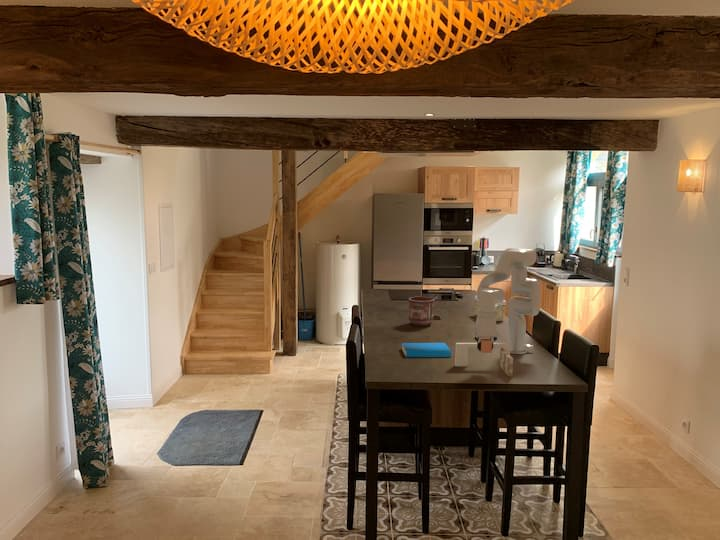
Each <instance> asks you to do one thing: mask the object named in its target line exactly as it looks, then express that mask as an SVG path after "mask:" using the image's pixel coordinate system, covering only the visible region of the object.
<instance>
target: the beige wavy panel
mask: <svg viewBox="0 0 720 540" xmlns="http://www.w3.org/2000/svg"><path fill="white" fill-rule="evenodd" d="M499 350H500V351H499V353H500V355H499V368H501V370H503V372H504V373H505V374H506V375H507V376H508V377H513V372H514V371H513V370H514V369H513V368H514V367H513V365H514V358H513V357H512V356H511V354H510V355H509V354H508V353H507V352H506V351H505V350H504V349H503V348H499Z"/></svg>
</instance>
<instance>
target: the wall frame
mask: <svg viewBox="0 0 720 540" xmlns="http://www.w3.org/2000/svg"><path fill="white" fill-rule="evenodd" d="M469 348H472V349H473V348H475V349H476V348H477V342H455V354H454V355H455V357H454V358H455V359H454V366H455V367H468V366H469ZM494 348H498V349H501V348H503V349H504V350H505V351H506V352H507V353H508V354H509V355H510V356H511V353H510V343H508V342H494V343H493V349H494Z"/></svg>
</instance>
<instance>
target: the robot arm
mask: <svg viewBox="0 0 720 540" xmlns="http://www.w3.org/2000/svg"><path fill="white" fill-rule="evenodd" d="M537 257H538V256H537V251H535V250H534V249H530V248H519V247H509V248H506V249H504V250H503V251H502V252H501V255H500V257H499V259H498V261H497V264H496V266H495V268H494V270H493V271H491V272H489V273H488V274H487V275H485V276H484V277H483V278H482V279H481V281H480V283H479V285H478V286H477V289H476V293H475V294H476V295H475V296H477V299H478V300H479V316H476V320H475V326H474V330H473V332H472V333H471V334H470V336H471V338H473V339H474V340H475V341H476V343H477V350H478V351H479V352H480V351H481V343H480V341H481V338H489V339H490V340H491V341H492V350H493V349H494V348H493V343H496V341H497V340H498V339H500V338H501V335H500V333H499V332H498V330H497V321H496V319H495V315H497V312H494V309H495V303H501V302H503V301H504V300H505V299H506V293H505V290H504V289H502V288H498V287H491V285H494V284H496V283H500V282H501V283H502V282H504V281H507V280H508V279H511V280H510V290H511V293H513V294H515V295H514V296H510V298H509V299H508V301H507V311H508V325H507V326H508V329H507V330H508V331H507V343H510V354H513V355H525V354H527V353H528V349H529V350H530V349H531V350H533V349H534V348H535V347H534V345H530V344H526V331H527V321H526V318H525V316H524V315H526V316H537V315H538V314H539V312H540V310H541V291H542V290H541V282H540V280H539V279H537V278H528V267H530V266H533V265H534V264H535V263H536V261H537V259H538V258H537ZM517 295H519V296H517ZM525 296H529V297H525Z"/></svg>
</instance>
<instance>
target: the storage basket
mask: <svg viewBox="0 0 720 540" xmlns="http://www.w3.org/2000/svg"><path fill="white" fill-rule="evenodd" d="M474 300H475V301H474V302H475V305H474V306H475V307H474V308H475V309H474V310H475V312H474V313H475V316H476V317H478V316H479V300H478V299H477V296H476V295H475V296H474ZM506 306H507V301H506V300H505V299H504V301H503V302H501V303H495V309H494V312H497V315H495V319H496V322H497V321H498V322H500V321H504V318H505V310H506Z"/></svg>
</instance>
